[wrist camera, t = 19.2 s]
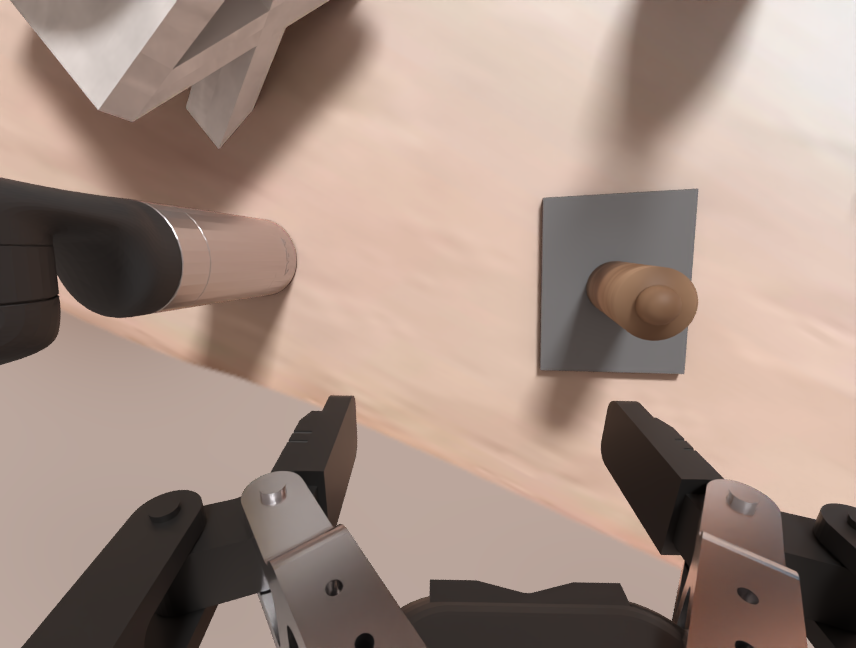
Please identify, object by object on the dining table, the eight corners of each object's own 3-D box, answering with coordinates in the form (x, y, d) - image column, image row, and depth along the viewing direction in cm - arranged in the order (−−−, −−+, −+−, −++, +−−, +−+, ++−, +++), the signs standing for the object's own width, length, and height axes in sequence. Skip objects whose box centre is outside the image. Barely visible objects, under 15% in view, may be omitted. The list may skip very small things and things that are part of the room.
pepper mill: (585, 313, 41) (620, 346, 27) (586, 262, 40) (622, 270, 26) (640, 311, 40) (707, 346, 26) (642, 259, 39) (712, 266, 25)
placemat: (540, 367, 44) (540, 370, 43) (542, 199, 41) (543, 197, 40) (680, 371, 41) (684, 374, 40) (693, 190, 38) (698, 188, 37)
